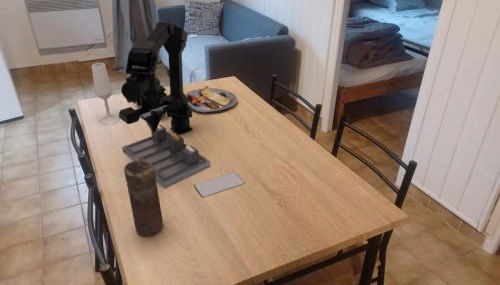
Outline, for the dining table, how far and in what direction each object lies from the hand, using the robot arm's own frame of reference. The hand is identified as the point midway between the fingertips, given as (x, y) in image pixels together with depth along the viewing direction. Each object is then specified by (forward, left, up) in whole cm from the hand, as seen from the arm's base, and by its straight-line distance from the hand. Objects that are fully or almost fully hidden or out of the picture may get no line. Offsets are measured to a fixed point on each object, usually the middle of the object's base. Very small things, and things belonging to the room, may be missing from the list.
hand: (153, 132), depth 121 cm
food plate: (-43, -27, -12) cm, 52 cm away
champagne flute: (-1, -40, -12) cm, 42 cm away
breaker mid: (-8, 0, -10) cm, 13 cm away
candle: (+18, +26, -12) cm, 34 cm away
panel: (-3, 0, -12) cm, 12 cm away
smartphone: (-8, +24, -13) cm, 28 cm away
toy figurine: (-19, -37, -12) cm, 43 cm away
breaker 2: (-7, +10, -10) cm, 16 cm away
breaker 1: (-7, -10, -10) cm, 16 cm away
